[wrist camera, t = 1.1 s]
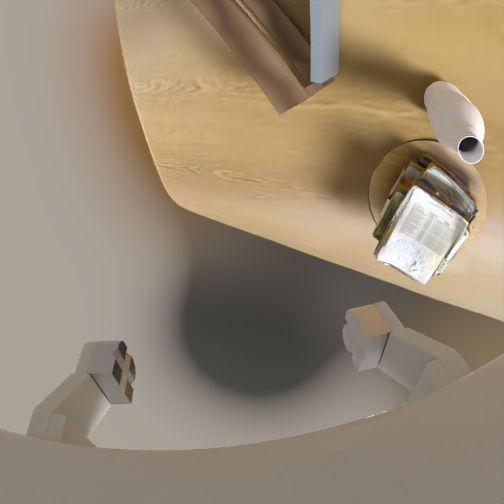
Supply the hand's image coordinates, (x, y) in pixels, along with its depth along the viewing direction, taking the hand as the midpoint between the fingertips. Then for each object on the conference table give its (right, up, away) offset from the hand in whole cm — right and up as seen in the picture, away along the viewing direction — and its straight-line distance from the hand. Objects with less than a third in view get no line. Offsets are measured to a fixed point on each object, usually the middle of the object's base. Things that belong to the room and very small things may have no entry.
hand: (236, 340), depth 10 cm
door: (+14, +41, +26) cm, 50 cm away
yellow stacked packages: (+35, +14, +40) cm, 55 cm away
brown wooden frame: (+7, +42, +32) cm, 53 cm away
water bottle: (+32, +29, +27) cm, 51 cm away
